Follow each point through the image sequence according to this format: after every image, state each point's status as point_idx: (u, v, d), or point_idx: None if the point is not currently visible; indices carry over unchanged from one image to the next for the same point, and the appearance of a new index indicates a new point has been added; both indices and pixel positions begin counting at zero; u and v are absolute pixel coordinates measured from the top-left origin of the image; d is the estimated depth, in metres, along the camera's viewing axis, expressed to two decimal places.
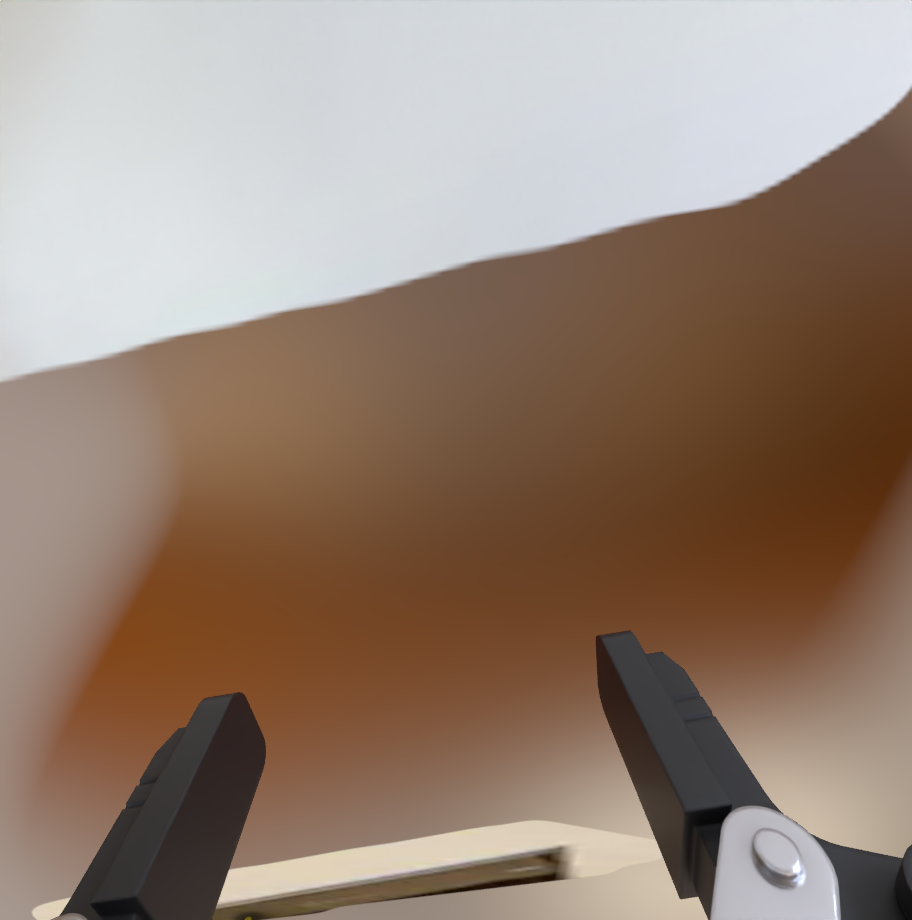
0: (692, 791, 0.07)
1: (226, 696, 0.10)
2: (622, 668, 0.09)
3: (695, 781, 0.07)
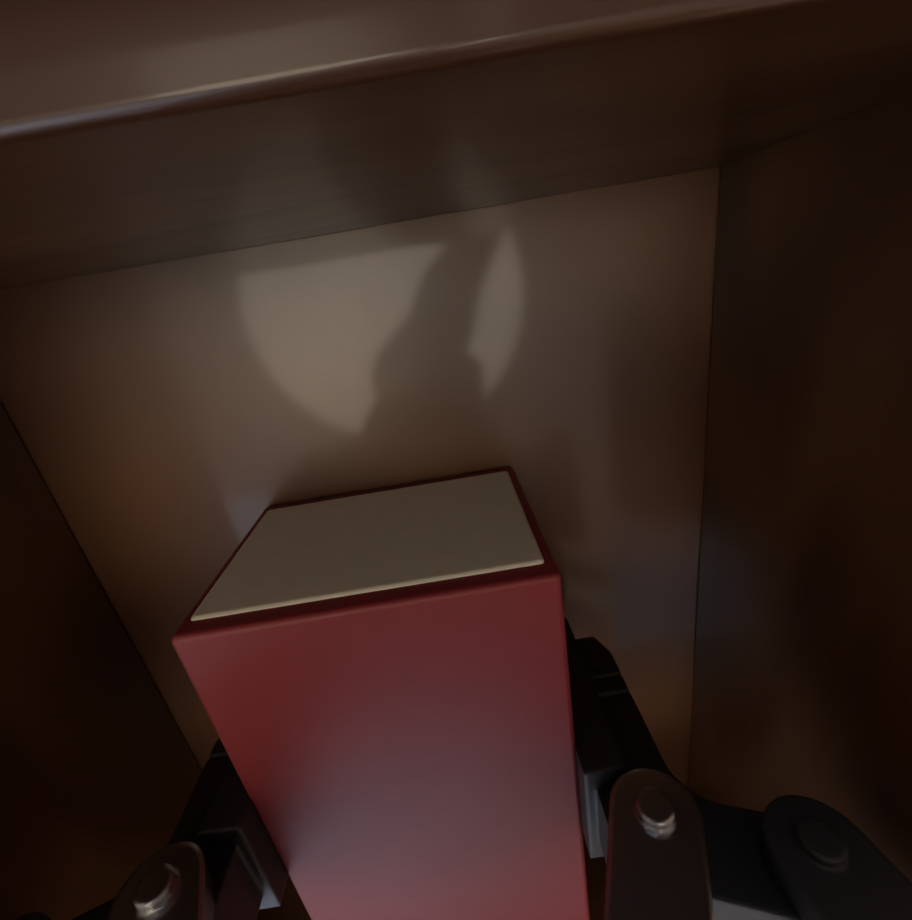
0: (594, 757, 0.07)
1: None
2: None
3: (598, 748, 0.07)
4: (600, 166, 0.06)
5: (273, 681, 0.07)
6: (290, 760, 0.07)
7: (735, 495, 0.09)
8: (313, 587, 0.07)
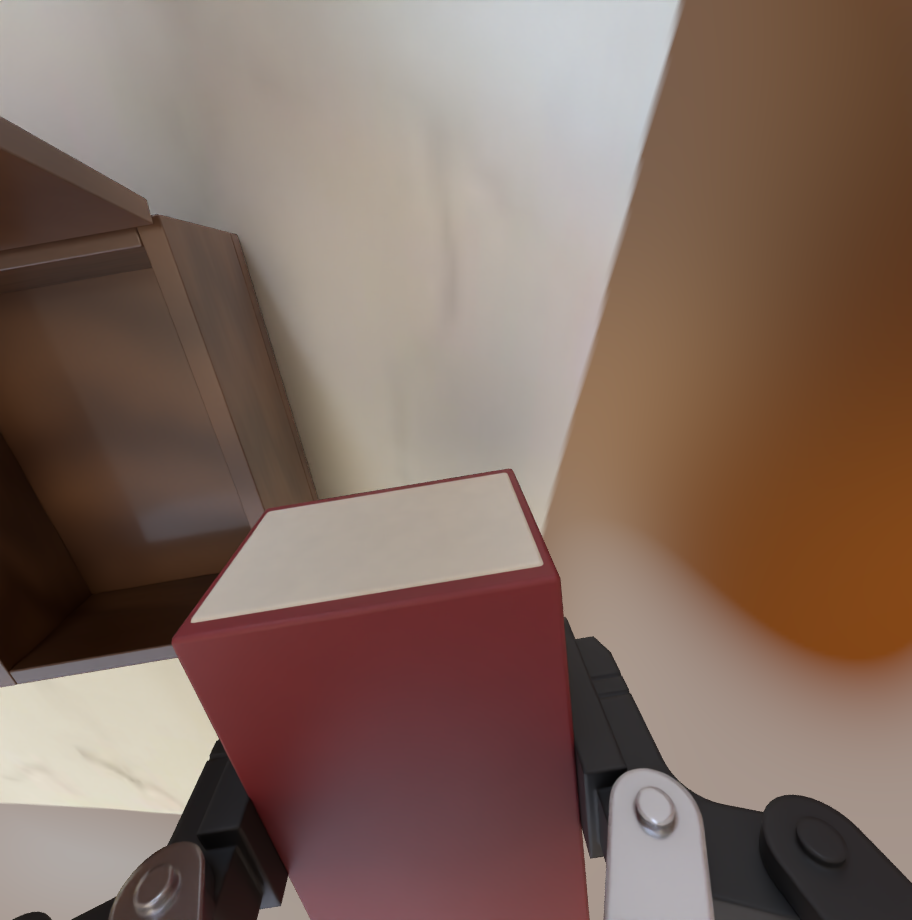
0: (594, 757, 0.07)
1: None
2: None
3: (598, 748, 0.07)
4: (132, 264, 0.20)
5: (274, 683, 0.07)
6: (290, 761, 0.07)
7: None
8: (312, 589, 0.07)
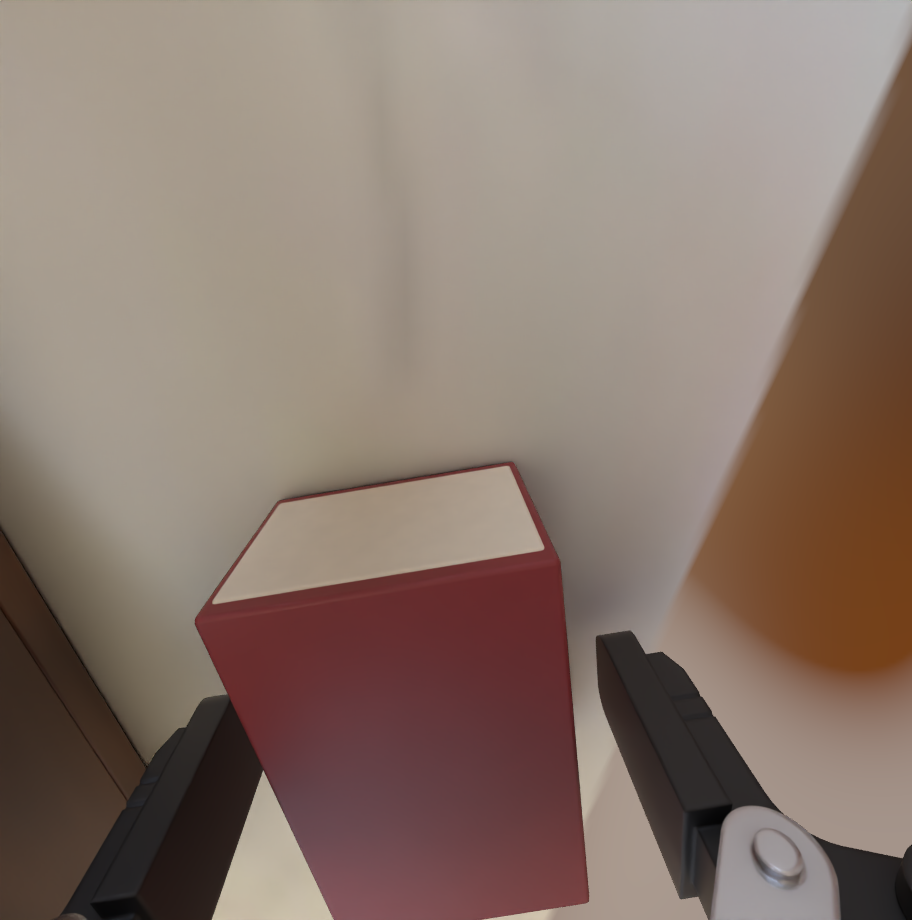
0: (692, 791, 0.07)
1: (226, 696, 0.10)
2: (622, 668, 0.09)
3: (695, 781, 0.07)
4: None
5: (289, 661, 0.07)
6: (304, 738, 0.08)
7: None
8: (326, 573, 0.07)
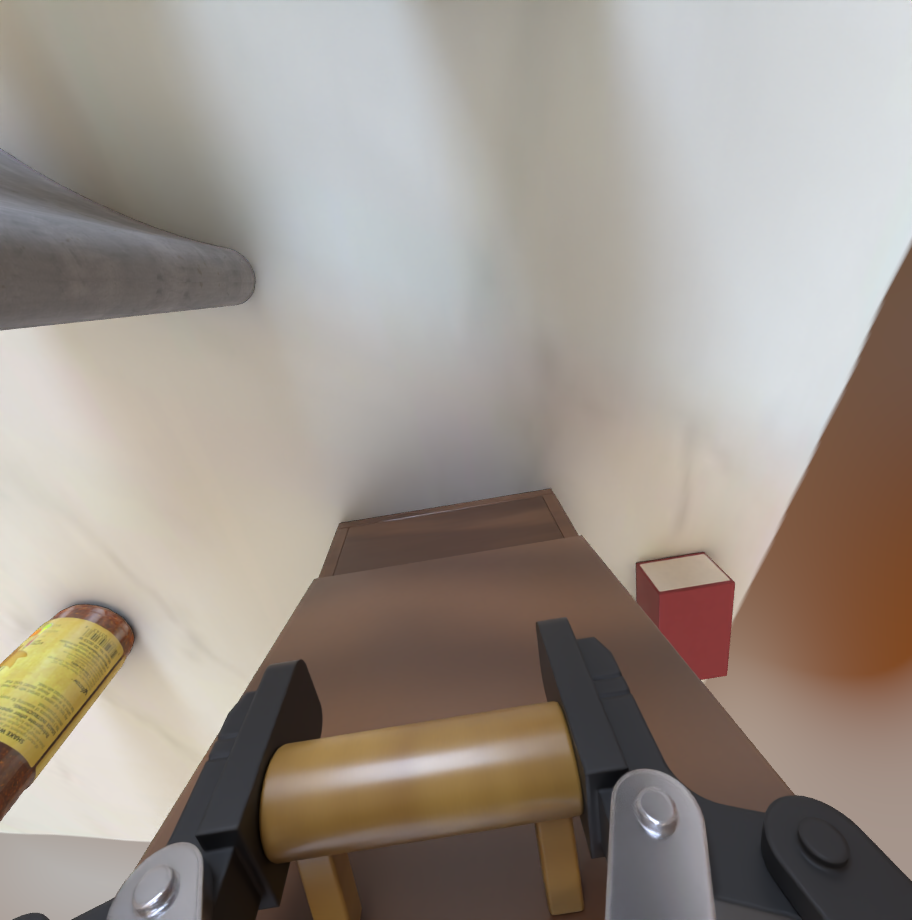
0: (595, 757, 0.07)
1: (290, 662, 0.10)
2: (552, 651, 0.09)
3: (599, 749, 0.07)
4: None
5: (675, 603, 0.33)
6: (671, 622, 0.33)
7: None
8: (681, 584, 0.33)
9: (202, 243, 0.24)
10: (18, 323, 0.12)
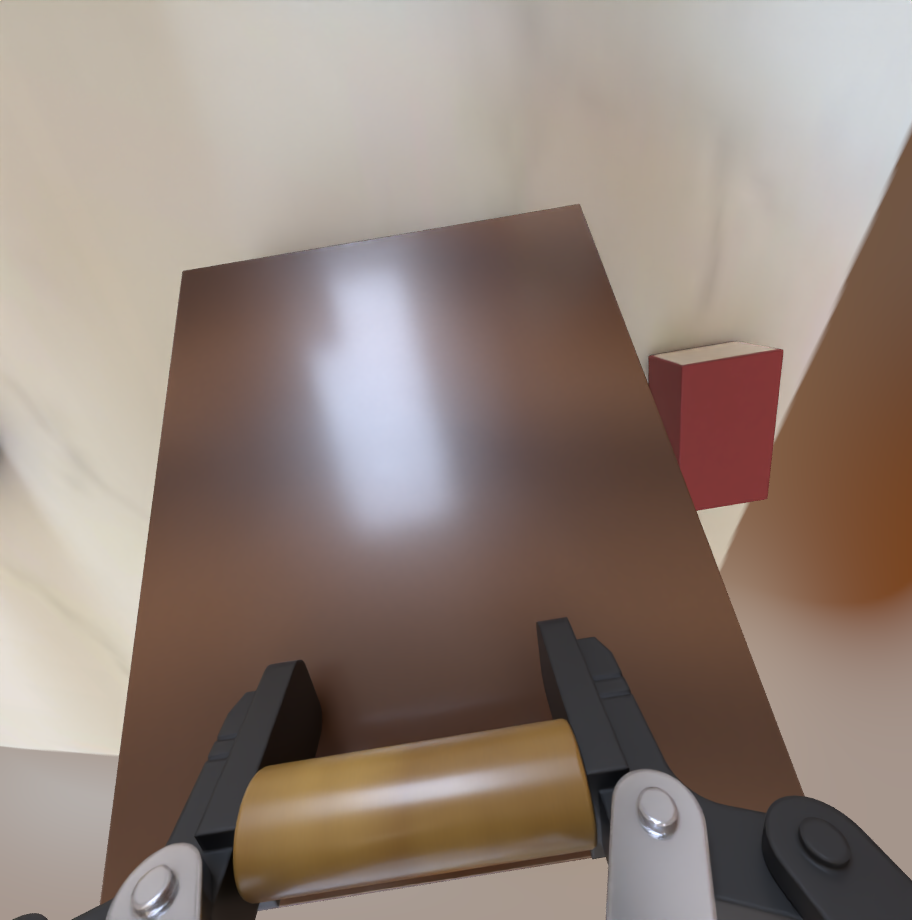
0: (596, 757, 0.07)
1: (290, 662, 0.10)
2: (553, 651, 0.09)
3: (600, 749, 0.07)
4: None
5: (703, 382, 0.24)
6: (697, 412, 0.25)
7: None
8: (711, 358, 0.24)
9: None
10: None
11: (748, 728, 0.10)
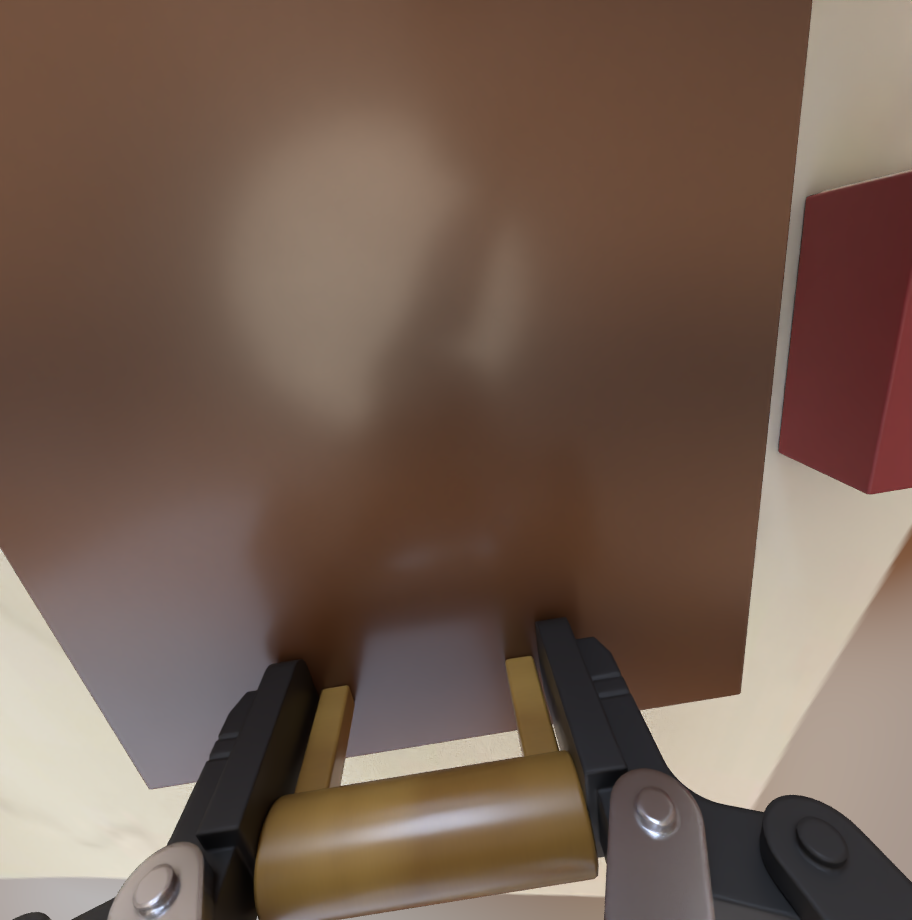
0: (594, 757, 0.07)
1: (291, 662, 0.10)
2: (551, 650, 0.09)
3: (599, 748, 0.07)
4: None
5: None
6: None
7: None
8: None
9: None
10: None
11: (719, 643, 0.11)
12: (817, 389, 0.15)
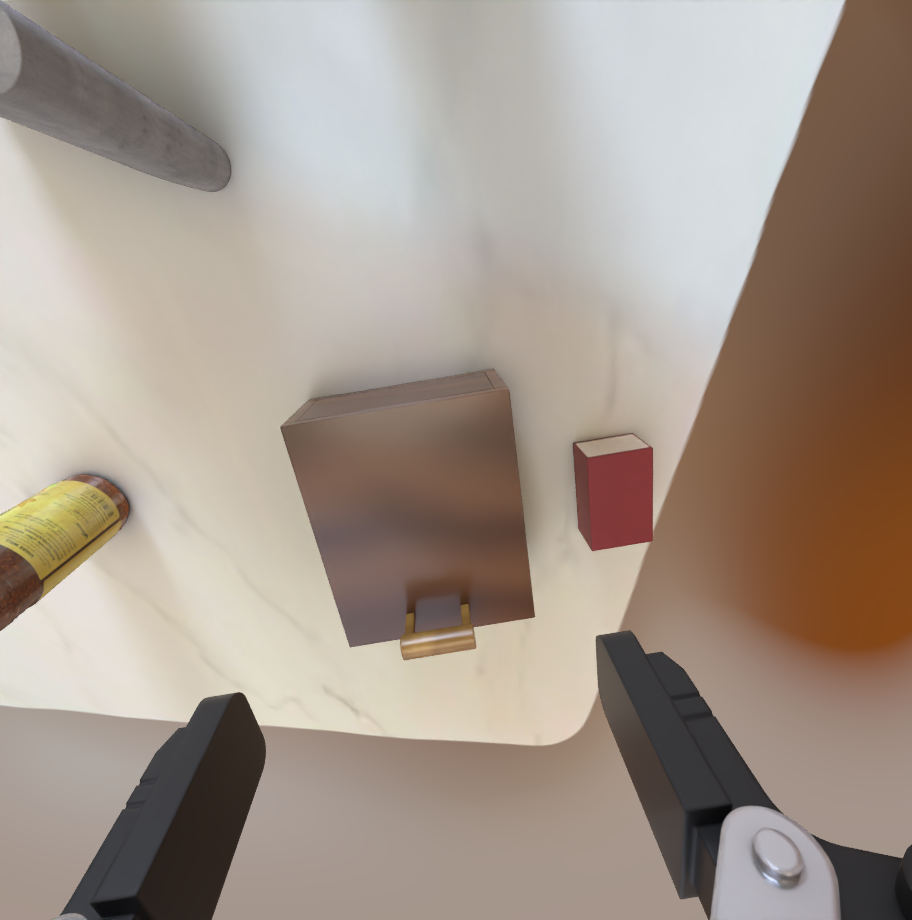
0: (692, 791, 0.07)
1: (226, 696, 0.10)
2: (622, 668, 0.09)
3: (695, 781, 0.07)
4: None
5: (601, 468, 0.37)
6: (599, 486, 0.38)
7: None
8: (607, 452, 0.37)
9: None
10: (38, 103, 0.17)
11: (524, 600, 0.37)
12: (581, 510, 0.41)
